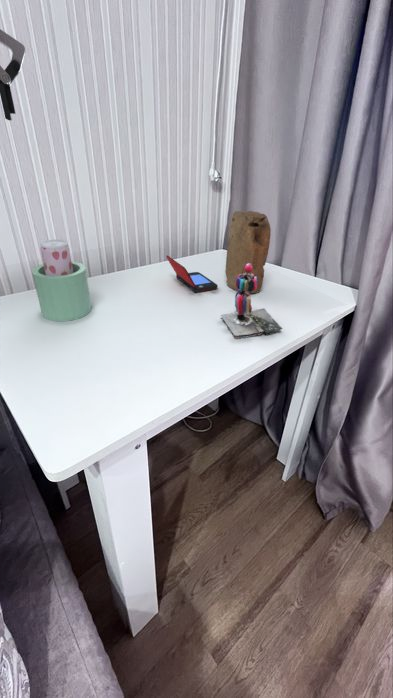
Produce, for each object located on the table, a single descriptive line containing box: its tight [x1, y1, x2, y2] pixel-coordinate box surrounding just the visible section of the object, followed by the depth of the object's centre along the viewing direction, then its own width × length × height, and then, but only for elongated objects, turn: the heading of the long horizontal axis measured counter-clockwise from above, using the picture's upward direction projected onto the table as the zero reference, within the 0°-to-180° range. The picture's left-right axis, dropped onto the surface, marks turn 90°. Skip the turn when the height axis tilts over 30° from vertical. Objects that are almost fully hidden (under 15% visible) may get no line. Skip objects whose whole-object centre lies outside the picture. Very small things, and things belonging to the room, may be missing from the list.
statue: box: [220, 263, 283, 340], centre depth 70 cm, size 11×9×15 cm
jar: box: [31, 261, 92, 322], centre depth 74 cm, size 11×11×10 cm
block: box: [224, 210, 272, 294], centre depth 88 cm, size 11×8×20 cm
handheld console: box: [165, 255, 219, 293], centre depth 92 cm, size 12×11×7 cm
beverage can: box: [39, 239, 73, 276], centre depth 73 cm, size 6×6×15 cm
